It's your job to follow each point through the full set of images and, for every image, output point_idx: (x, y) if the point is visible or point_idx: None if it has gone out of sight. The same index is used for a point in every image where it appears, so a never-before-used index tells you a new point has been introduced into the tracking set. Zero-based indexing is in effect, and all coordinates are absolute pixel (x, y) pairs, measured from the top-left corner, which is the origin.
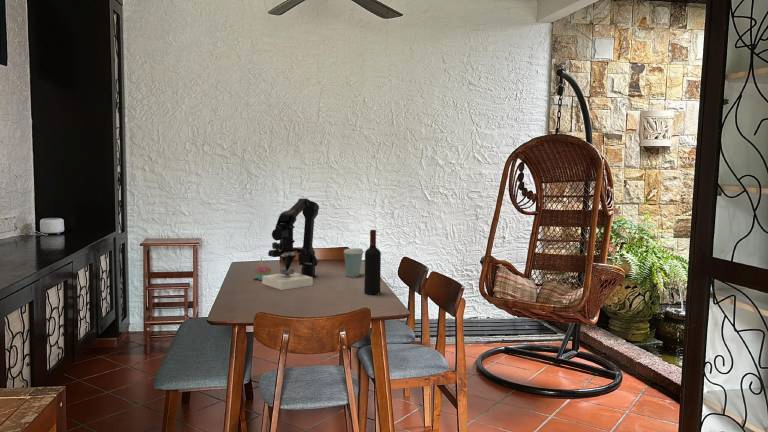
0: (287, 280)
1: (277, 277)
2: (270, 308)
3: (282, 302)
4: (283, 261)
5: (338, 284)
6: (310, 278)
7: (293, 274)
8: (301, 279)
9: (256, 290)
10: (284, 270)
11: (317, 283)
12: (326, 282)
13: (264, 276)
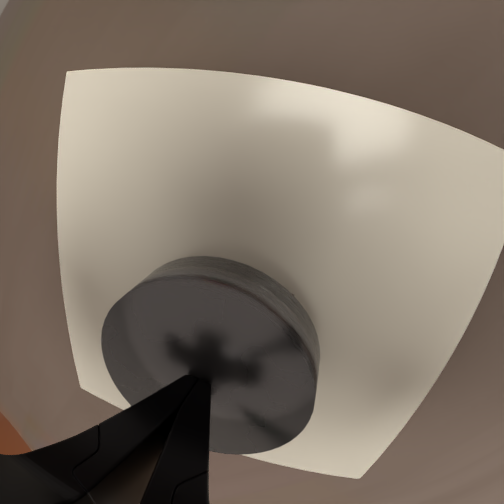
0: (130, 406)
1: (122, 266)
2: (20, 424)
3: (53, 433)
4: (75, 438)
5: (448, 479)
6: (340, 470)
7: (395, 294)
8: (252, 454)
9: (15, 241)
10: (122, 393)
11: (435, 416)
12: (483, 426)
13: (64, 114)
